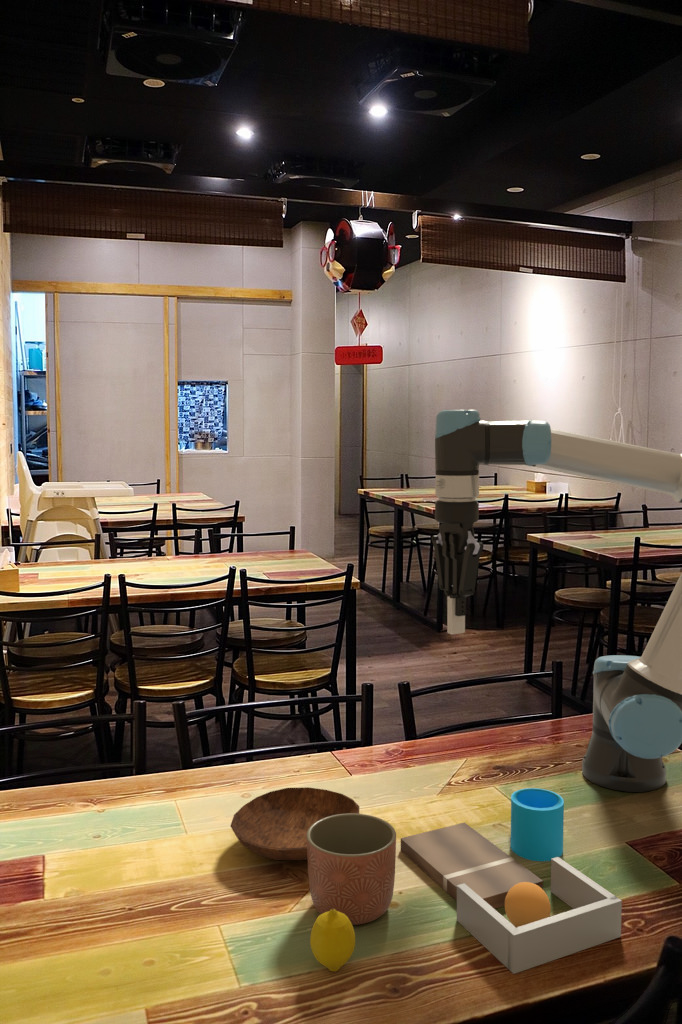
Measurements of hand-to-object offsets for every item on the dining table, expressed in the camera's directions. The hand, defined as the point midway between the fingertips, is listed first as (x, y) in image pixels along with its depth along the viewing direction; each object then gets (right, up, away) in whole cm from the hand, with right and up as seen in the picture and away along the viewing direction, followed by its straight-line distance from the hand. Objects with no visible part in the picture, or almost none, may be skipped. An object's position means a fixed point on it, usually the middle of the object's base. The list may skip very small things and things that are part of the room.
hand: (456, 632), depth 150 cm
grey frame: (+6, -34, -36) cm, 50 cm away
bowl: (-27, -32, -13) cm, 44 cm away
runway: (-1, -33, -22) cm, 39 cm away
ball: (+5, -31, -37) cm, 48 cm away
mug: (+10, -32, -13) cm, 36 cm away
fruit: (-21, -36, -44) cm, 61 cm away
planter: (-19, -34, -31) cm, 50 cm away
